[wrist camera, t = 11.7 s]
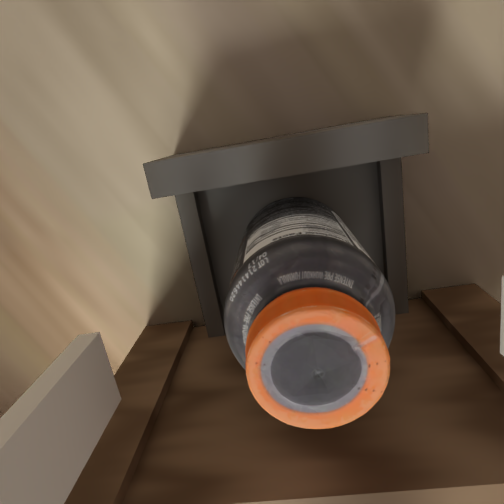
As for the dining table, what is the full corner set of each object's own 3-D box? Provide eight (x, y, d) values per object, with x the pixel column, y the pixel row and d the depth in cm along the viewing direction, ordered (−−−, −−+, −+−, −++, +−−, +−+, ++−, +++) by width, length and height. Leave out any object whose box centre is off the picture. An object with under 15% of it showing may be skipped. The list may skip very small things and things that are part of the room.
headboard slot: (157, 366, 25) (-27, 743, 10) (99, 168, 21) (-366, 279, 6) (474, 329, 23) (879, 738, 7) (477, 100, 19) (1343, -10, 4)
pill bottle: (315, 313, 22) (353, 490, 11) (224, 269, 21) (173, 411, 11) (370, 225, 20) (478, 337, 9) (272, 175, 20) (269, 233, 9)
